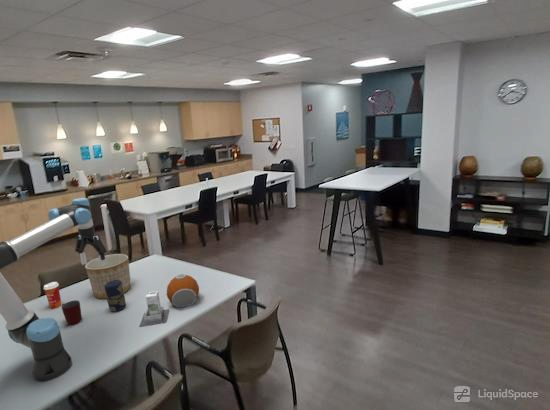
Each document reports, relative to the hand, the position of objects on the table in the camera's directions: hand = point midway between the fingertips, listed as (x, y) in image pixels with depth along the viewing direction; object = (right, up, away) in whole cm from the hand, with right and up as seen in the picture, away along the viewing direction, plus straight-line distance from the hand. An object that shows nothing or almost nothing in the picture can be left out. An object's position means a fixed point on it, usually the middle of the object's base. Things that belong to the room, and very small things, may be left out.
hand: (93, 264), depth 188 cm
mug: (-18, -35, +12) cm, 41 cm away
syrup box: (+31, -31, +8) cm, 45 cm away
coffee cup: (-40, -32, +32) cm, 61 cm away
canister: (+3, -31, +22) cm, 38 cm away
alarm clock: (+43, -27, +24) cm, 56 cm away
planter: (-11, -26, +47) cm, 55 cm away
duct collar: (+31, -31, +7) cm, 44 cm away
